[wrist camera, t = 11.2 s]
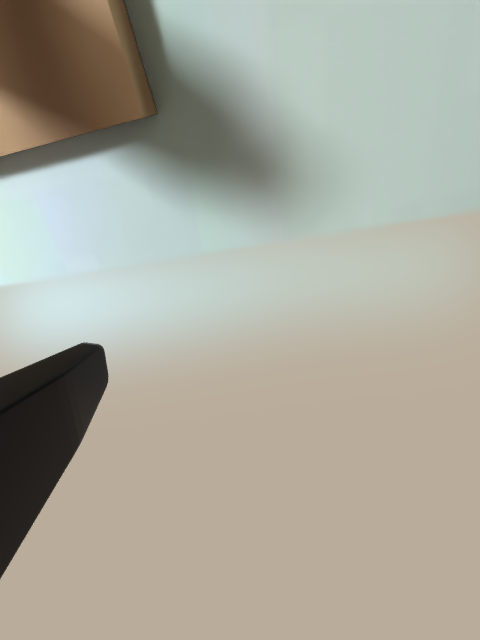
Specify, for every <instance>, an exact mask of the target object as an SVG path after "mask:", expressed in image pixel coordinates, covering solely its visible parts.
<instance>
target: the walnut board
mask: <svg viewBox="0 0 480 640" xmlns="http://www.w3.org/2000/svg"><path fill="white" fill-rule="evenodd" d="M153 114H157V110H156V107H155V104H154V100H153V97H152V94H151V90H150V87H149V84H148V80H147V77H146V74H145V70H144V67H143V64H142V60H141V57H140V54H139V50H138V47H137V44H136V40H135V37H134V34H133V30H132V27H131V24H130V20H129V17H128V14H127V10H126V7H125V4H124V0H0V156H4V155H7V154H11V153H15V152H18V151H22V150H26V149H29V148H33V147H37V146H40V145H44V144H48V143H51V142H55V141H59V140H63V139H66V138H70V137H74V136H77V135H81V134H85V133H88V132H92V131H96V130H99V129H103V128H107V127H111V126H114V125H118V124H122V123H125V122H129V121H133V120H136V119H140V118H144V117H147V116H150V115H153Z"/></svg>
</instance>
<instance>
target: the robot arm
mask: <svg viewBox="0 0 480 640" xmlns="http://www.w3.org/2000/svg"><path fill="white" fill-rule="evenodd" d="M107 383H108V370H107V365H106V358H105V352H104V349H103V347H102V346H101V345H99V344H93V343H81V344H78V345H76V346H74V347H71V348H69V349H66V350H64V351H62V352H59V353H57V354H55V355H52V356H50V357H48V358H45V359H43V360H41V361H38V362H36V363H34V364H32V365H29V366H27V367H24V368H22V369H20V370H17V371H15V372H12V373H10V374H8V375H5V376H3V377H1V378H0V578H1V577H2V575H3V573H4V572H5V570H6V568H7V567H8V565H9V563H10V562H11V560H12V558H13V557H14V555H15V553H16V552H17V550H18V548H19V547H20V545H21V543H22V541H23V540H24V538H25V536H26V535H27V533H28V531H29V530H30V528H31V526H32V525H33V523H34V521H35V519H36V518H37V516H38V514H39V513H40V511H41V509H42V508H43V506H44V504H45V503H46V501H47V499H48V498H49V496H50V494H51V493H52V491H53V489H54V488H55V486H56V484H57V483H58V481H59V479H60V478H61V476H62V474H63V473H64V471H65V469H66V468H67V466H68V464H69V462H70V461H71V459H72V457H73V456H74V454H75V452H76V451H77V449H78V447H79V445H80V443H81V441H82V439H83V437H84V435H85V433H86V431H87V428H88V426H89V424H90V422H91V420H92V418H93V415H94V413H95V411H96V409H97V406H98V404H99V402H100V400H101V398H102V395H103V393H104V391H105V389H106V387H107Z"/></svg>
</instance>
